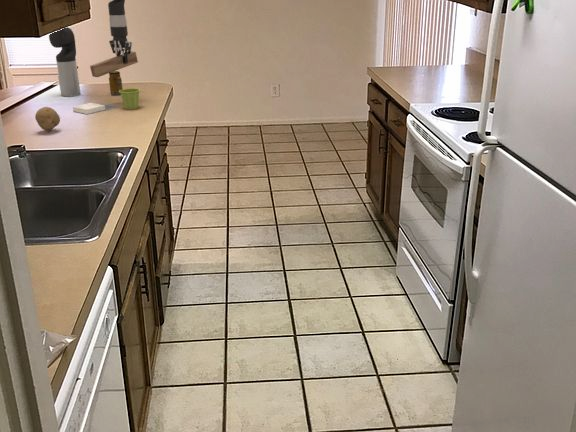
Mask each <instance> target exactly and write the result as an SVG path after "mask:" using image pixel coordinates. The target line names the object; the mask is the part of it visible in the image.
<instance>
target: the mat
mask: <svg viewBox="0 0 576 432" xmlns="http://www.w3.org/2000/svg"><path fill="white" fill-rule="evenodd" d="M99 104H100V105H105V110H102V111H98V112H94V113H91V114H97V113H102V112H105V111H111V110H115V109H119V108H120V106H116V105H111V104H106V103H102V102H101V103H99Z"/></svg>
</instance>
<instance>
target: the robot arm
mask: <svg viewBox="0 0 576 432" xmlns="http://www.w3.org/2000/svg"><path fill="white" fill-rule="evenodd" d="M125 3H126V0H111V1H109V2H108V4H107V5H108V8H107V9H108V16H109V19H108V20H109V28H110V36H111V37H112V39H111V40H109V41H108V42H109V44H110V45H109V46H110V49H111V50H112V53H113V54H115V57H116V56H119V55H123V56H122V57H123V64H127V63H128V57H127V55H129V54H130V53H131V51H132V44H133V43H132V42H131V41H128V38H127V37H128V35H129V33H128V23H127V22H128V21H127V17H126V12H125V11H126V9H125ZM66 27H67V28H64V29H62V30H60V31H57V32H54V33H52V34H50V35H49V34H48V40H49V44H50V45H51V46H52V47H53V48H57V49H58V48H60V49H61V50H60V51H59V53H58V54H56V56H55V61H56V66H57V73H58V76H57V77H58V85H59V90H60V95H61V96H63V97H75V96H76V97H77V96H81V93H82V92H81V87H80V78H79V72H78V66H77V59H76V56H77V48H76V37H75V34H74V33H75V32H73V30H72V29H71V28H70V27H69V26H66Z"/></svg>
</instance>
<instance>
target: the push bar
mask: <svg viewBox="0 0 576 432" xmlns="http://www.w3.org/2000/svg"><path fill="white" fill-rule="evenodd" d="M122 56H123V55H122V54H120V55H119V56H116V55H115V56H114V57H112V58H108V59H104V60H102V61H99V62H97V63H94V64H93V63H92V64H90V65H89V68H90V71H91V75H92V77H93V78H99V77H102V76H105V75H107V74H108V75H109V73H111V72H113V71H118V70H121V69H124V68H126V67H130V66H132V65H135V64H137V63H139V61H138V57H137V51H132V50H131V53H130V54H129V55H127V57H128V63H127V64H123V57H122Z"/></svg>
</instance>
